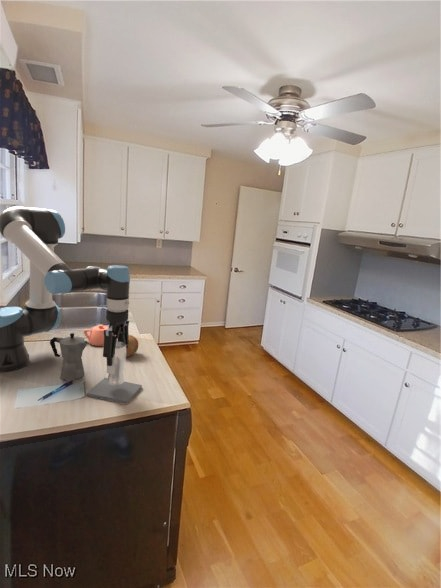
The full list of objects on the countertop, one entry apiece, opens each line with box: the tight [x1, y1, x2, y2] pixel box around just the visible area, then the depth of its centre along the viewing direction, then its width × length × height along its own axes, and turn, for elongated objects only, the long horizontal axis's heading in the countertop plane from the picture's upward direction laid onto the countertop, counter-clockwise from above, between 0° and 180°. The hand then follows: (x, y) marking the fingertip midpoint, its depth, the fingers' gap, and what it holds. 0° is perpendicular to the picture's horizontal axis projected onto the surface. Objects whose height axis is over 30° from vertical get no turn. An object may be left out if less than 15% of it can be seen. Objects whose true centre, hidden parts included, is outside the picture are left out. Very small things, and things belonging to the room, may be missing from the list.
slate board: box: [86, 377, 143, 405], centre depth 115 cm, size 16×12×1 cm
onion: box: [126, 334, 139, 357], centre depth 146 cm, size 10×10×10 cm
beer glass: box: [105, 340, 127, 386], centre depth 113 cm, size 7×7×15 cm
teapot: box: [83, 324, 116, 347], centre depth 158 cm, size 12×18×10 cm
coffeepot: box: [49, 332, 90, 381], centre depth 122 cm, size 15×9×18 cm, turn 89°
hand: (116, 368), depth 113 cm, fingers closed on beer glass, 7 cm apart
